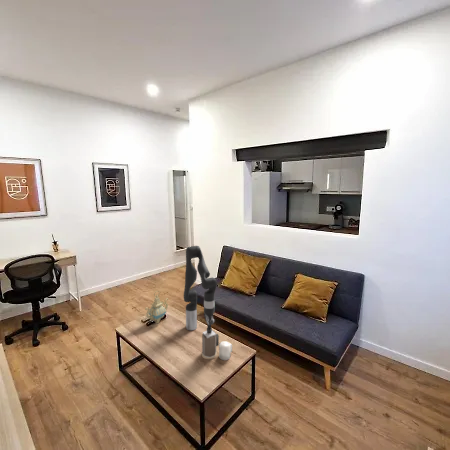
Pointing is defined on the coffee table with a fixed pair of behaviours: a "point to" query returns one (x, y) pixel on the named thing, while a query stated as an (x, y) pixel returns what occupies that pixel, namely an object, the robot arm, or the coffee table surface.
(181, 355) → the coffee table surface
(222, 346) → the mug
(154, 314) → the teapot
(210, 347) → the carafe
